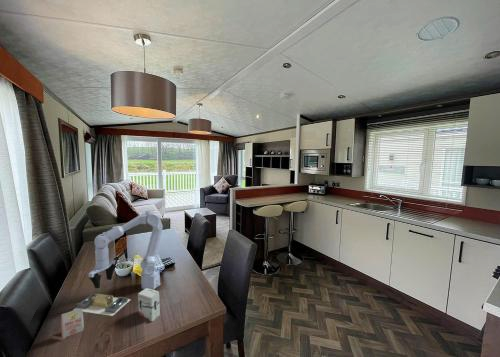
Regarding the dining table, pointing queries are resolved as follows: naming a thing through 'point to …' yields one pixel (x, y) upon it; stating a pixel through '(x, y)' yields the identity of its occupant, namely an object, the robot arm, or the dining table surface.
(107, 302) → the brass block
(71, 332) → the tea bag
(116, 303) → the chain ends
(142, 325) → the dining table surface
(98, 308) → the board
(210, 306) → the dining table surface
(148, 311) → the ink box
